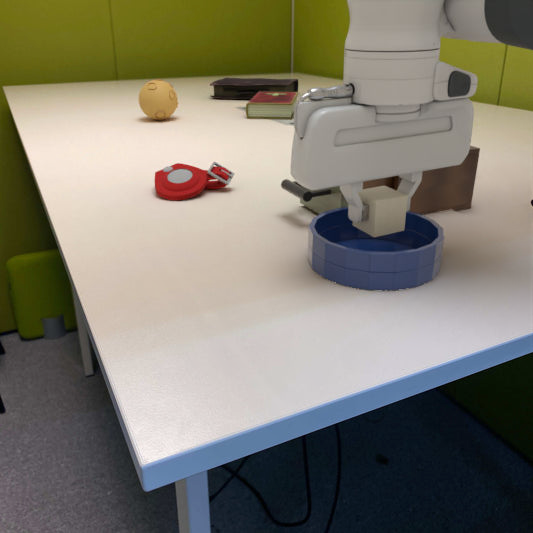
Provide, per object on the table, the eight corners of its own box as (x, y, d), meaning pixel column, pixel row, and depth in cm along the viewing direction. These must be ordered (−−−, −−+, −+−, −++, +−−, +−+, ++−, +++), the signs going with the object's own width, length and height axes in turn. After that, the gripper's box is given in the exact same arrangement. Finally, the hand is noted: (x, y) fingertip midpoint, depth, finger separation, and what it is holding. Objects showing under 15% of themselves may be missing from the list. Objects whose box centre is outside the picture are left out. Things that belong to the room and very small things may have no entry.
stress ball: (137, 123, 138) (133, 81, 134) (144, 116, 147) (140, 77, 143) (177, 122, 138) (174, 81, 134) (181, 115, 147) (178, 76, 143)
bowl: (384, 232, 70) (387, 199, 68) (467, 277, 58) (474, 238, 56) (286, 253, 64) (286, 217, 62) (356, 307, 53) (359, 265, 51)
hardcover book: (245, 118, 143) (245, 101, 141) (257, 105, 162) (257, 90, 160) (291, 119, 141) (292, 102, 140) (298, 106, 160) (298, 91, 158)
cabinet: (394, 223, 73) (400, 159, 69) (345, 199, 82) (348, 141, 79) (470, 208, 78) (480, 148, 74) (416, 186, 88) (423, 132, 84)
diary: (226, 91, 189) (226, 76, 187) (298, 93, 184) (298, 77, 182) (209, 99, 173) (208, 82, 171) (287, 101, 167) (287, 84, 165)
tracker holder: (169, 198, 80) (138, 168, 86) (175, 221, 83) (144, 191, 89) (238, 166, 84) (204, 140, 90) (241, 190, 87) (207, 163, 93)
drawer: (311, 231, 68) (312, 178, 65) (273, 207, 76) (273, 159, 74) (417, 211, 75) (423, 161, 72) (371, 190, 83) (375, 145, 80)
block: (381, 219, 62) (384, 185, 60) (404, 230, 59) (408, 195, 57) (352, 225, 60) (353, 190, 59) (373, 237, 57) (376, 201, 55)
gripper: (312, 93, 46) (310, 244, 52) (491, 76, 54) (471, 208, 60) (278, 85, 51) (279, 223, 57) (446, 70, 59) (431, 193, 65)
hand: (379, 215), depth 59 cm, fingers closed on block, 4 cm apart
